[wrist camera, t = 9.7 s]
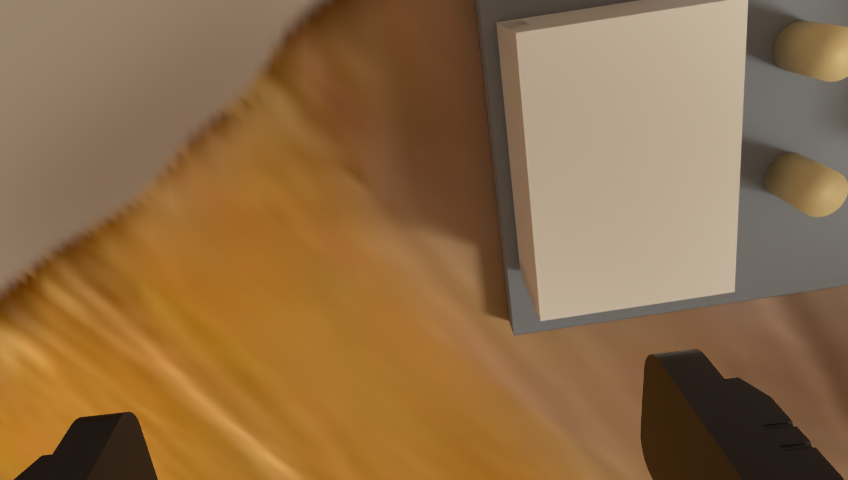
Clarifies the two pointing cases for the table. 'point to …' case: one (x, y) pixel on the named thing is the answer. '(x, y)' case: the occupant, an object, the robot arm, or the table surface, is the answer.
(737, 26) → the cover
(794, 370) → the table surface
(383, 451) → the table surface
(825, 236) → the plate
